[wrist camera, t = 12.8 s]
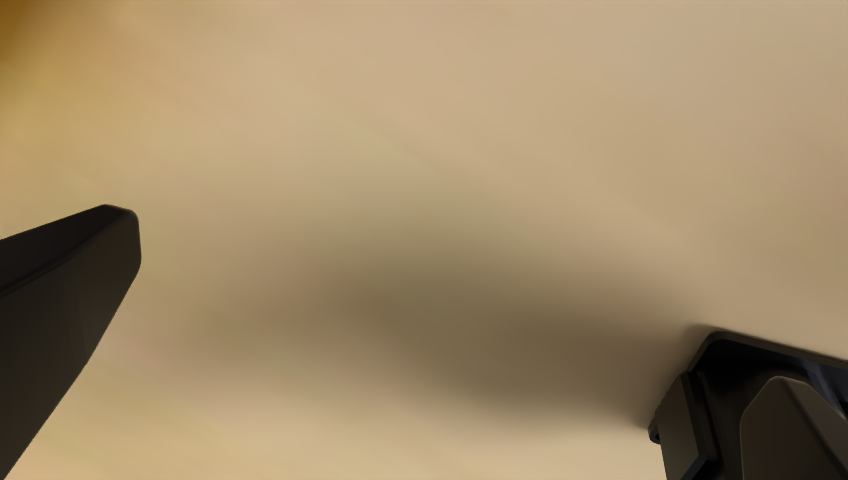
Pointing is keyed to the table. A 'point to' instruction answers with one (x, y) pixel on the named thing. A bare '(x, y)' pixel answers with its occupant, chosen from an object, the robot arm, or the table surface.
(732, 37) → the table surface
